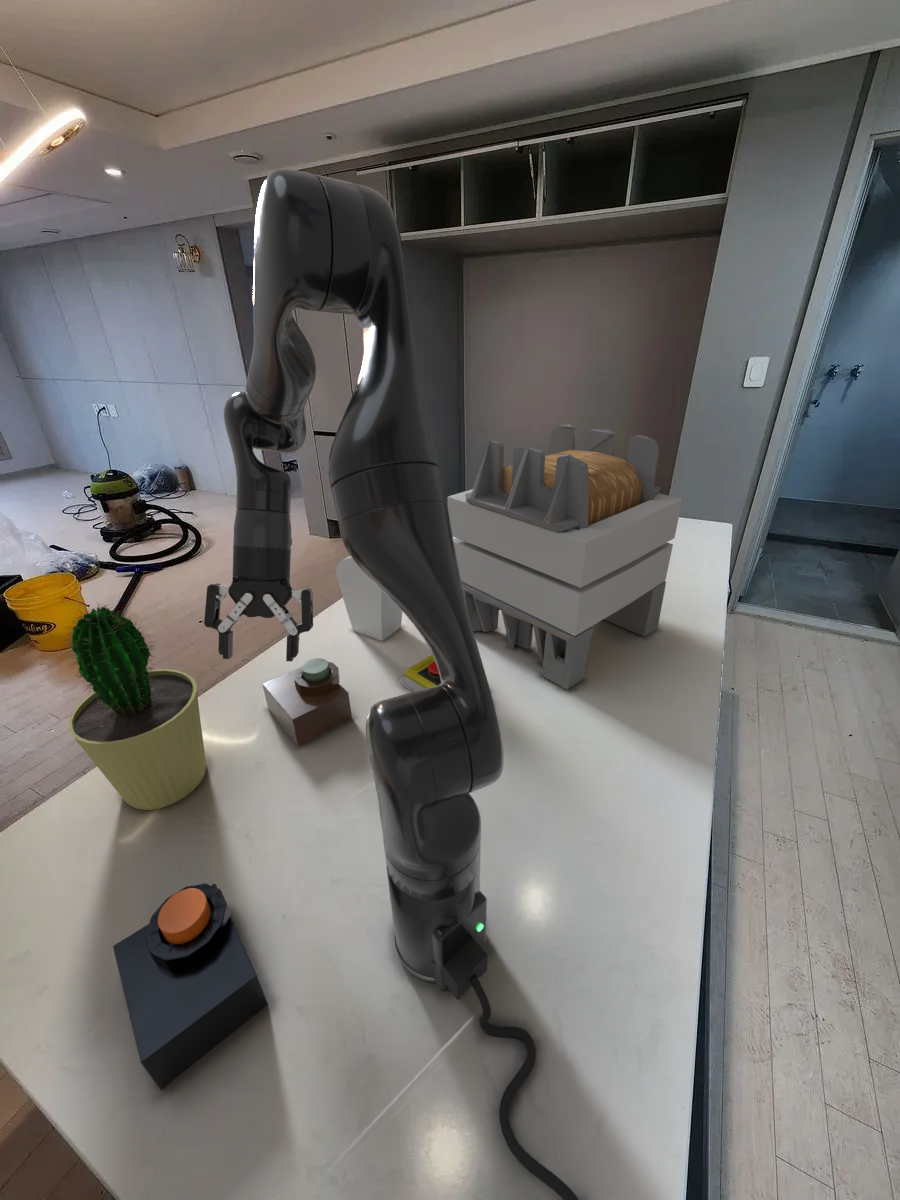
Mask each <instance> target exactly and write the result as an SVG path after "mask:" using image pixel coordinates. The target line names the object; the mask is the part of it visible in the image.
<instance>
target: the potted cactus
mask: <svg viewBox="0 0 900 1200" xmlns="http://www.w3.org/2000/svg"><path fill="white" fill-rule="evenodd" d="M96 603H97V604H96V605H97V607H96V609H95V608H94V607H93V608H91V607H89V608H88V610H87V612H86V613H83V612H82V610H80V609H79V608H77V610H78V612H80V614H81V615H82V614H83V616H82V617H81V616H79V615H78V614H76V617H75V620H73V618H70V620H71V622H70V621H69V623H72V624H73V625H72V626H71V625H70V626H68V625H67V628H68V629H69V630H71V631H67V632H68V633H65V634H67V635H68V634H69V635H68V638H66V639H65V640H64V642H65V643H64V644H66V645H64V647H65V646H67V649H68V648H69V649H70V646H71V649H70V650H69V651H67V652H65V653H64V655H63V656H65V655H67V654H68V653H70V654H69V656H70V657H72V656H73V658H74V661H73V663H76V665H75V666H72V669H75V668H78V673H79V675H78V678H79V681H83V680H84V681H85V684H84V686H82V687H83V688H85V687H86V688H85V689H84V692H86V691H87V690H88V691H87V692H88V693H87V694H88V695H87V697H85V698H84V699H83V700H82V701H80V703H79V704H78V705H77V706H76V707H75V709H74V710H73V712H72V714H71V715H70V718H69V721H68V730H69V732H70V734H71V736H72V737H73V738H74V739H75V741H76V742H77V744H78V745H79V746H80V747H81V749H82V750H83V751H84V752H85V753H86V755H87V756H88V757H89V759H90V760H91V761H92V762H93V763H94V764H95V766H96V768H97V769H98V770H99V771H100V772H101V773H102V775H103V776H104V777H105V778H106V780H108V782H109V783H110V784H111V786H112V787H113V788H114V789H115V791H117V793H118V794H119V795H120V797H121V798H122V799H123V801H124V803H126V804H128V806H130V807H132V808H134V809H137V810H142V811H151V810H152V811H153V810H157V809H158V810H159V809H161V808H165V807H168V806H171V805H173V804H175V803H177V802H179V801H181V800H183V799H184V798H185V797H187V796H189V794H191V793H192V792H193V791H195V790H196V788H197V787H198V786H199V785H200V783H202V781H203V779H204V777H205V774H206V771H207V759H206V751H205V744H204V738H203V737H204V736H203V730H202V729H203V728H202V722H201V721H202V720H201V714H200V706H199V698H198V689H197V687H198V685H197V682H196V680H195V678H193V677H192V675H190V674H189V673H187V672H185V671H182V670H178V669H171V668H157V669H156V668H154V666H155V664H154V663H153V664H152V666H149V665H150V662H152V659H151V658H150V657H152V658H157V657H155V656H154V655H152V654H151V653H152V652H151V651H153V650H154V646H156V645H157V643H156V644H153V643H154V641H150V644H149V641H148V642H146V641H145V640H146V637H145V636H147V635H148V636H147V638H149V637H150V636H149V634H148V633H149V632H148V633H145V630H140V629H143V626H142V625H140V626H137V622H135V623H134V622H133V621H132V619H133V617H132V618H131V617H130V616H127V617H126V616H125V614H124V613H123V611H125V610H124V609H122V610H118V611H116V612H115V610H116V608H117V606H118V604H119V603H117V604H116V606H115V607H114V606H112V607H111V609H113V608H114V609H113V610H110V607H108V605H106V604H104V603H102V604H99V602H96ZM100 605H101V606H100ZM141 626H142V627H141ZM63 628H64V629H66V626H63ZM143 633H144V634H143ZM60 638H63V639H64V637H63V636H62V637H60ZM156 642H158V641H156ZM69 644H70V646H69ZM148 644H149V645H148ZM72 652H73V653H72ZM73 654H74V655H73ZM75 660H76V661H75ZM73 663H72V664H71V663H70V666H71V665H73ZM153 665H154V666H153ZM72 673H73V672H72ZM74 677H76V675H75V676H74ZM82 678H83V680H80V679H82ZM90 692H91V693H90Z"/></svg>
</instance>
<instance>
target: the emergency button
mask: <svg viewBox="0 0 900 1200" xmlns="http://www.w3.org/2000/svg"><path fill="white" fill-rule="evenodd" d="M399 684H400V685H401V686H402V687H404V688H405V689H406V690H409V691H410V692H411V693H412V692H415V691H419V690H423V689H426V688H430V687H434V686H438V685H441V679H440V675H439V671H438V668H437V665H436V662H435V660H434V657H433V655H432V654H431V655H428V656H427V657H425V658H424V659H422V660H420V661H419V662H417V663H415V664H414V665H412V666H410V667H408V668H407V669H406V670H405V671H404V675H403V676H402V677H400V678H399Z"/></svg>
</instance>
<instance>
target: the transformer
mask: <svg viewBox="0 0 900 1200" xmlns="http://www.w3.org/2000/svg"><path fill="white" fill-rule="evenodd" d="M575 430H577V427H576V426H575V425H572V424H571V423H567V424H557V426H555V427H554V428H553V429H552V430H551V433H550V437H549V438H550V439H549V445H548V449H547V450H548V452H547V455H546V453H545V451H544V450H541V449H536V448H532V447H531V448H530V447H527V446H516V447H514V448H513V450H512V465H507V466H504V461H505V459H504V457H505V456H504V455H505V445H504V443H503V442H502V441H499V440H490V441H482V442H481V443H480V444H479V445H478V448H477V460H476V461H477V464H476V465H477V466H476V475H477V476H476V480H475V482H474V485H473V488H471V489H469V490H465V491H462V492H458V493H455V494H452V495H449V496H447V497H446V501H447V506H448V512H449V518H450V524H451V530H452V536H453V541H454V547H455V552H456V557H457V562H458V568H459V573H460V578H461V583H462V587H463V592H464V597H465V601H466V605H467V609H468V613H469V618H470V621H471V625H472V628H473V632H483V633H488V632H491V631H496V630H497V629H498V628H499V612H500V611H501V615H502V620H503V624H504V627H505V637H506V639H507V640H508V644H509V647H510V648H515V645H517V646H519V647H521V648H523V649H526V650H527V649H529V648H531V647H532V645H533V632H534V638H535V642H536V643H535V644H536V647H537V653H538V658H539V664H541V665H542V670H541V677H543V678H545V679H547V680H548V681H550V682H552V683H554V684H555V685H558V686H559V687H560V688H562V689H563V690H567V691H568V690H571V689H573V688H574V685H576V684H578V683H580V682H582V681H583V680H584V679H585V678H584V677H585V673H586V666H587V662H588V657H589V652H590V647H591V641H592V637H593V632H594V627H593V626H594V625H596V624H598V623H599V622H601V621H603V620H604V621H607V622H609V623H612V624H614V625H616V626H619V627H621V628H623V629H625V630H628V631H630V632H632V633H634V634H637V635H639V636H641V637H646V636H647V635H650V634H651V633H652V632H654V631H656V630H659V629H658V628H659V624H660V618H661V613H662V607H663V603H664V602H663V601H664V596H665V590H666V584H667V581H666V580H667V575H668V570H669V566H670V561H671V557H672V551H673V547H674V543H670V541H672V540H673V539H675V537H676V533H677V528H678V523H679V519H680V515H681V509H682V503H683V498H681V497H678V496H672V495H667V494H665V493H659V492H660V491H661V487H660V486H658V485H655V481H656V480H655V479H656V474H657V473H656V472H657V467H658V460H659V455H660V446H659V444H658V442H657V440H655V439H654V438H651V437H650V436H645V435H643V434H637V435H634V436H631V437H630V438H629V442H628V449H627V453H626V460H625V459H624V458H620V457H617V456H615V442H616V437H618V433H617V432H615V431H612V430H610V429H608V428H605V429H598V428H597V429H596V428H592V429H588V430H587V432H586V436H585V437H586V439H585V445H584V450H576V444H575V443H576V442H575V439H576V438H575Z"/></svg>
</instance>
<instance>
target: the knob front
mask: <svg viewBox="0 0 900 1200" xmlns="http://www.w3.org/2000/svg"><path fill="white" fill-rule="evenodd" d="M181 890H182V889H181ZM179 891H180V890H179ZM177 892H178V891H177ZM177 892H175V893H176V894H175V893H174V894H175V895H173V894H172V895H173V896H172V895H171V896H172V897H171V898H170V899H168V900H167V902H166V903H165V904H164V905H163V907H162V908H161V910H160V913H159V916H158V926H159V928H160V930H161V932H162V934H163V935H164V937H165V939H166V940H167V941H168V942H169V943H171V944H177V945H179V944H184V943H187V942H189V941H191V940H193V939H195V938H196V937H197V936H199V935H200V934H201V933H202V932H203V930H204V929H205V928H206V926H207V924H208V923H209V920H210V917H211V908H210V906H209V903H208V901H207V899H206V896H205V894H204V893H203V892H202V891H201V890H198V889H194V888H191V889H185V890H182V891H180V892H178V893H177Z"/></svg>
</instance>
